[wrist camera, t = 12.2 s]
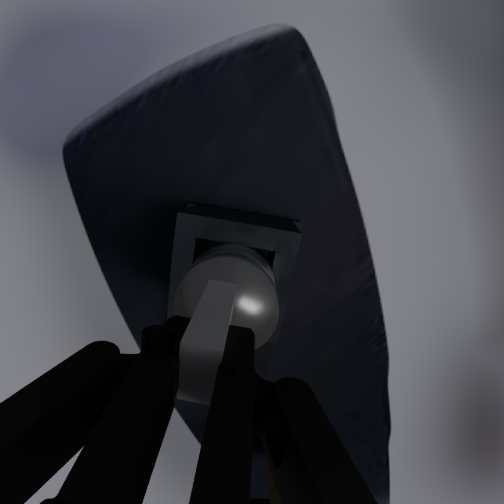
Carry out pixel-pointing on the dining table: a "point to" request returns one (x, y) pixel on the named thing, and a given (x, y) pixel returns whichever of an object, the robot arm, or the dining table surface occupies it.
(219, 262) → the dark grey round knob
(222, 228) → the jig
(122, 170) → the dining table surface
